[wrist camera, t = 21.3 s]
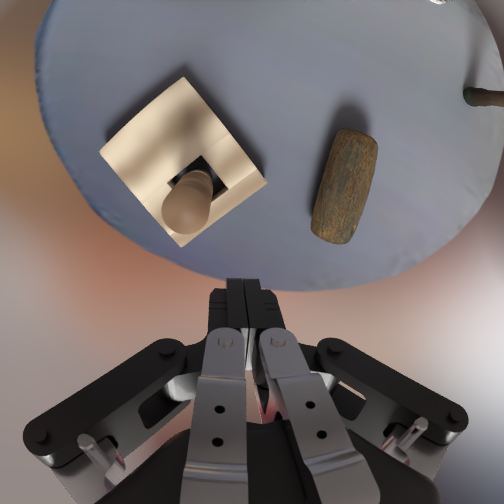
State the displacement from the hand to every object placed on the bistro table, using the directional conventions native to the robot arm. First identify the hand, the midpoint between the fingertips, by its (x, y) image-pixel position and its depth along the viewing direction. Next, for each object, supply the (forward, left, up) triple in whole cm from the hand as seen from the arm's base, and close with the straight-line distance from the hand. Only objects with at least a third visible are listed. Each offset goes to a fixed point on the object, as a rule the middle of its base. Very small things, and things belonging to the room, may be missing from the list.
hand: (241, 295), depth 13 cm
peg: (-3, -3, -26) cm, 26 cm away
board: (-6, -3, -26) cm, 27 cm away
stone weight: (+9, +12, -27) cm, 30 cm away
